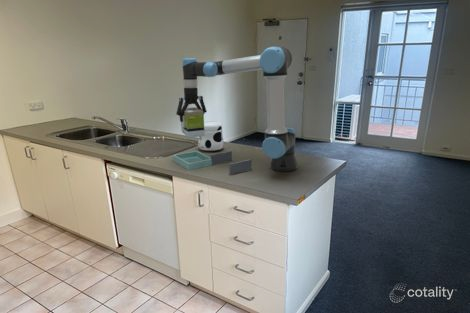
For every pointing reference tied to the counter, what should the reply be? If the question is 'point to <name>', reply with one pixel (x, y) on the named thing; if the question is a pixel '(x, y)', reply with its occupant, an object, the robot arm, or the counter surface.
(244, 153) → the counter surface
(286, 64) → the robot arm
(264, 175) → the counter surface
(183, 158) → the tray
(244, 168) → the dock
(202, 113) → the tea box
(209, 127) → the milk container
